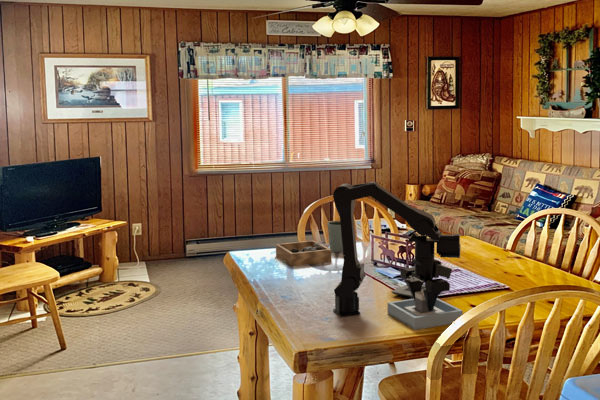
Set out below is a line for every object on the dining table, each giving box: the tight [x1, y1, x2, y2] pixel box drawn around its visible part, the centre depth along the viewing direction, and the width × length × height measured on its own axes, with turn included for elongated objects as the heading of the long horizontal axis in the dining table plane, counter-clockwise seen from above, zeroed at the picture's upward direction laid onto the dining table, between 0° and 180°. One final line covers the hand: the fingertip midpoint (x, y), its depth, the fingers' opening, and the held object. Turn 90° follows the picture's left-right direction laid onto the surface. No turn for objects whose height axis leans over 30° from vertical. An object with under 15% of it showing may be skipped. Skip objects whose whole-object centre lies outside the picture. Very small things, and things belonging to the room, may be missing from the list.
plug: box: [415, 291, 434, 313], centre depth 202 cm, size 4×4×7 cm
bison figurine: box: [290, 242, 323, 253], centre depth 275 cm, size 12×7×10 cm
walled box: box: [387, 297, 464, 331], centre depth 202 cm, size 16×16×4 cm
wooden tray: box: [275, 240, 333, 267], centre depth 277 cm, size 17×19×5 cm
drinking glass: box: [327, 220, 343, 253], centre depth 291 cm, size 10×10×12 cm
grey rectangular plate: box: [391, 284, 426, 299], centre depth 226 cm, size 13×10×2 cm
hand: (424, 307), depth 202 cm, fingers open, 7 cm apart
